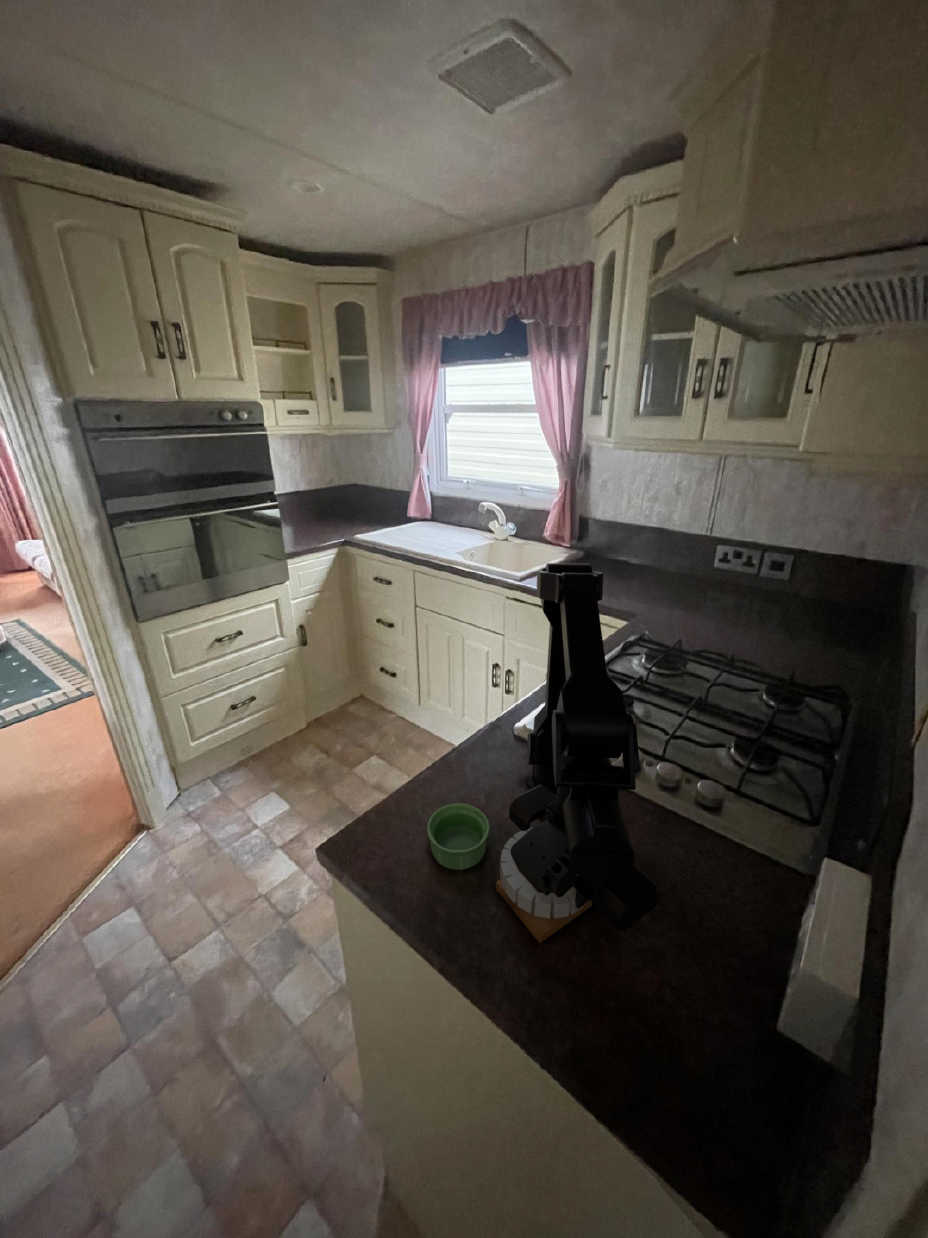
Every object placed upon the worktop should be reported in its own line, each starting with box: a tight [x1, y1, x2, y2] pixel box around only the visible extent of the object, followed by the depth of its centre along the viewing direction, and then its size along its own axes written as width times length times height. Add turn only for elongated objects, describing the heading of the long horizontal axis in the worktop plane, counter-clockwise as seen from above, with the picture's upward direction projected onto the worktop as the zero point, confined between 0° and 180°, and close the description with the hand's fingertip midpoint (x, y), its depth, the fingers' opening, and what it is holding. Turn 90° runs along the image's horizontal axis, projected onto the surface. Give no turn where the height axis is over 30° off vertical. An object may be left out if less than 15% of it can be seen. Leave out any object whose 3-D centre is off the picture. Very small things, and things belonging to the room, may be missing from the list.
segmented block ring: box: [499, 826, 587, 919], centre depth 66 cm, size 12×12×2 cm
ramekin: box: [426, 802, 490, 871], centre depth 75 cm, size 9×9×4 cm
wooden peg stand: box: [495, 878, 593, 944], centre depth 67 cm, size 9×9×8 cm
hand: (571, 897), depth 63 cm, fingers closed on segmented block ring, 2 cm apart
